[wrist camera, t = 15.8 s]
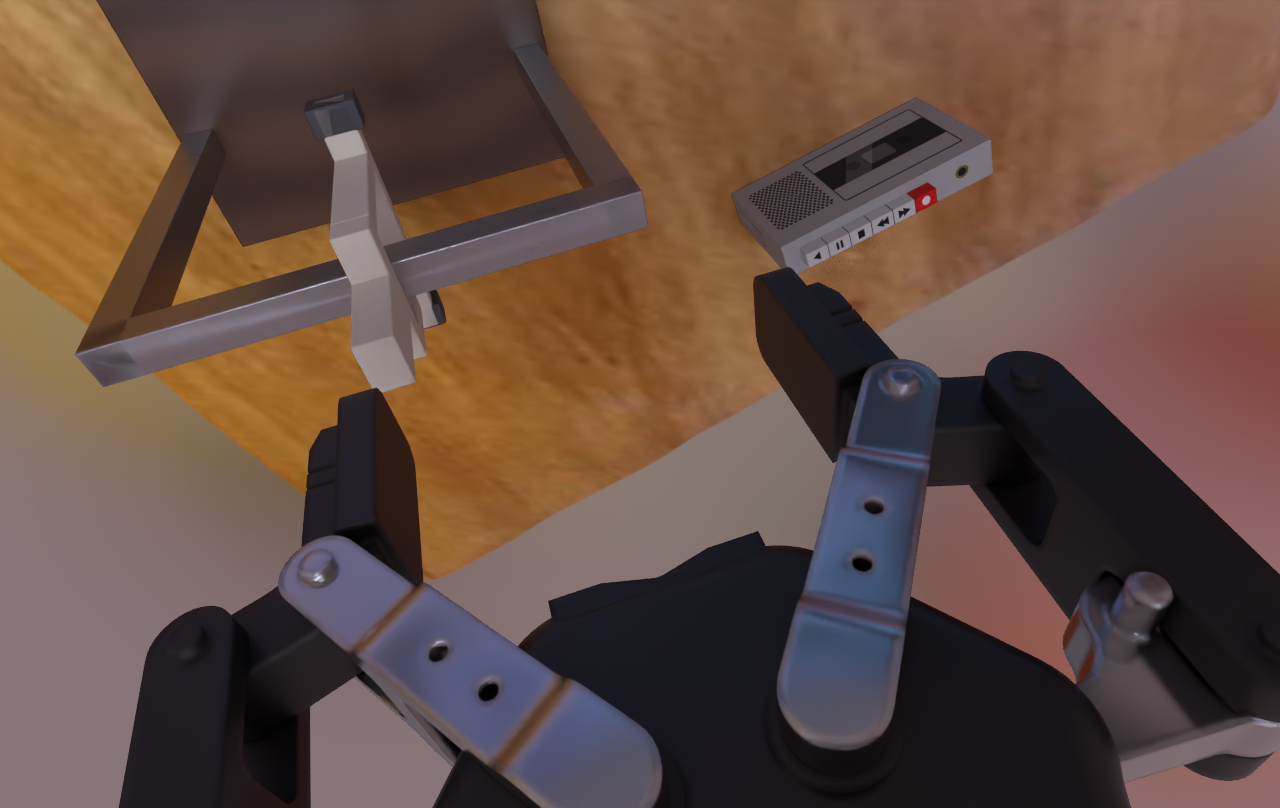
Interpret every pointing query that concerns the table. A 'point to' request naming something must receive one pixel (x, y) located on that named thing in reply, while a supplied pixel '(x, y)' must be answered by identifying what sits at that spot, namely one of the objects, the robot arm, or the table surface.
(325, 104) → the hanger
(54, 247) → the table surface
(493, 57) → the rack
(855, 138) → the cassette player
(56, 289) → the table surface
